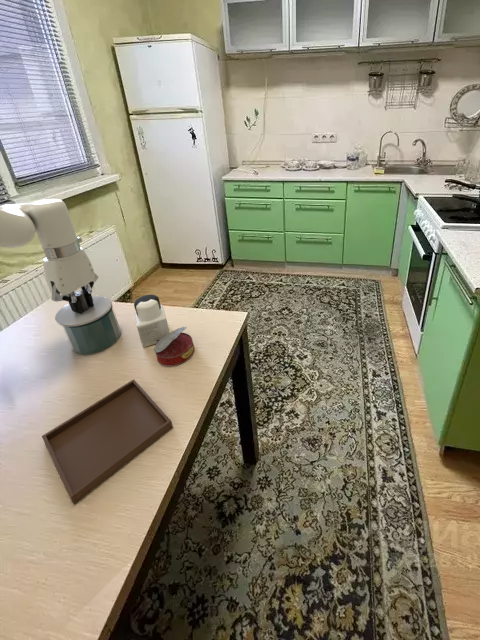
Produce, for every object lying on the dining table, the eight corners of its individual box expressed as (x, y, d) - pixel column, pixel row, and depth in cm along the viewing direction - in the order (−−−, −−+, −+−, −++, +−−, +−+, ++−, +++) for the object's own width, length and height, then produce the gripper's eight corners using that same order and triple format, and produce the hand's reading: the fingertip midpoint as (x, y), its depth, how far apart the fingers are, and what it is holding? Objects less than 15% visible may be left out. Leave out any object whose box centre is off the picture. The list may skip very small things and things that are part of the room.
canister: (81, 361, 87) (70, 334, 83) (66, 340, 95) (54, 314, 90) (128, 337, 95) (119, 311, 91) (110, 320, 103) (101, 295, 99)
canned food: (172, 379, 86) (147, 364, 80) (163, 353, 94) (140, 337, 87) (206, 351, 88) (185, 334, 81) (195, 328, 95) (174, 310, 88)
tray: (74, 504, 56) (70, 498, 55) (45, 442, 67) (41, 436, 66) (173, 427, 69) (171, 420, 68) (135, 385, 79) (133, 379, 78)
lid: (66, 335, 82) (57, 315, 79) (49, 314, 90) (41, 295, 87) (120, 311, 91) (115, 291, 88) (101, 293, 99) (95, 275, 96)
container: (140, 332, 97) (129, 296, 91) (167, 324, 100) (158, 288, 94) (143, 348, 91) (131, 310, 85) (171, 339, 94) (162, 302, 88)
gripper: (80, 235, 90) (99, 291, 98) (18, 260, 76) (46, 323, 84) (100, 238, 87) (117, 296, 95) (40, 265, 74) (66, 329, 82)
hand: (83, 308), depth 90 cm, fingers closed on lid, 2 cm apart
